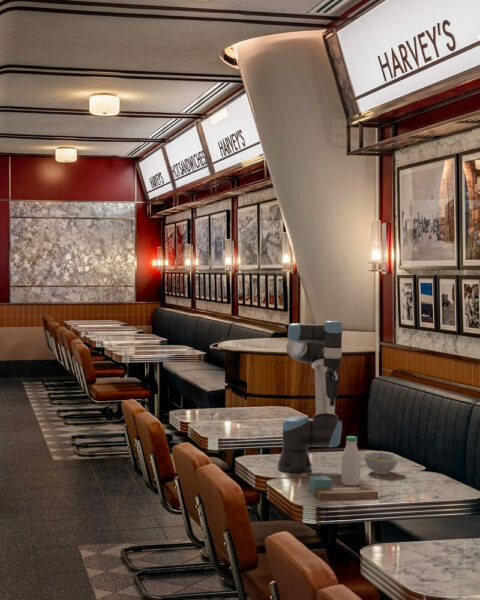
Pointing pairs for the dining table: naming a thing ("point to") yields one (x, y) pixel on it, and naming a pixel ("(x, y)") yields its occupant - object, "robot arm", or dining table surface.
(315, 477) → the block
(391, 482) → the dining table surface
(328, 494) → the board
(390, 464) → the bowl
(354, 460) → the milk bottle
